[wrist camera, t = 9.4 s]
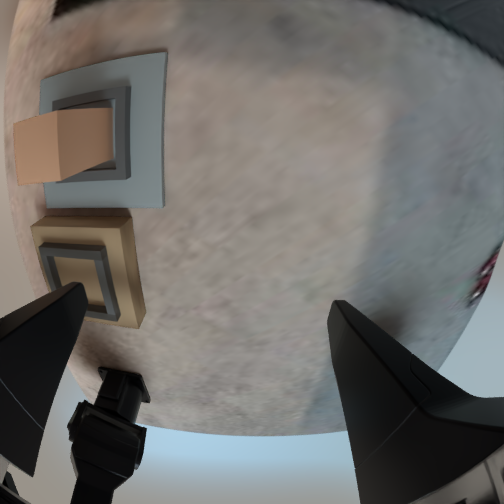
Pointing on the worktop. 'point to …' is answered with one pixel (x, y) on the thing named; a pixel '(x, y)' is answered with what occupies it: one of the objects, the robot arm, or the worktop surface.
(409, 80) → the worktop surface
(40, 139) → the plug
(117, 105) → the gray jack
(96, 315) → the beige square socket
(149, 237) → the worktop surface
